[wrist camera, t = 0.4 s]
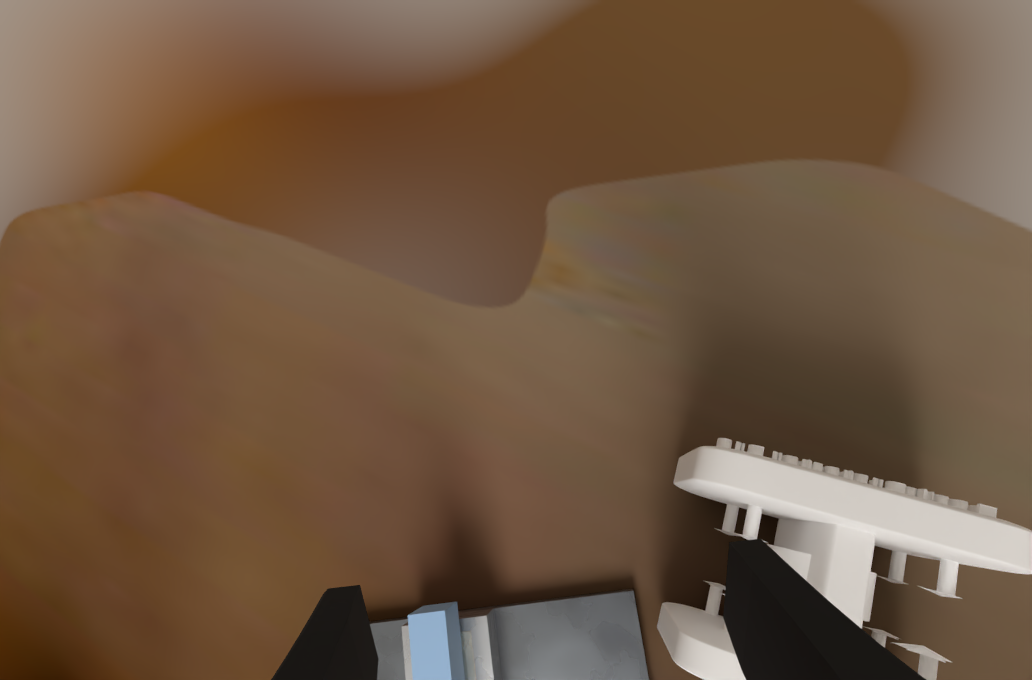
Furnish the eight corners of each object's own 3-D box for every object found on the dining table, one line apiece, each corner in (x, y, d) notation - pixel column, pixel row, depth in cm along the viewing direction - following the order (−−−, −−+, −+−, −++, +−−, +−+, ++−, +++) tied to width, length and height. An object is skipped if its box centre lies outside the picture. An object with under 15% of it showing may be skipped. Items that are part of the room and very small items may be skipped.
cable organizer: (638, 619, 38) (655, 670, 26) (676, 449, 40) (708, 429, 29) (902, 705, 35) (1047, 802, 24) (928, 517, 37) (1072, 524, 26)
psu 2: (504, 699, 36) (497, 714, 34) (421, 708, 37) (408, 724, 34) (493, 608, 38) (486, 615, 35) (413, 618, 38) (401, 626, 36)
